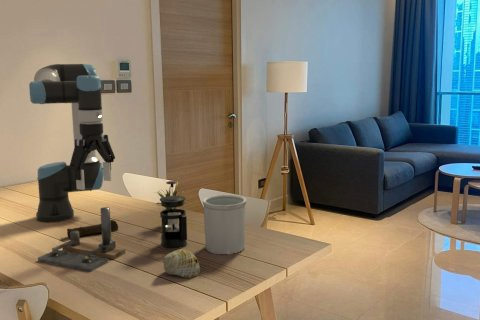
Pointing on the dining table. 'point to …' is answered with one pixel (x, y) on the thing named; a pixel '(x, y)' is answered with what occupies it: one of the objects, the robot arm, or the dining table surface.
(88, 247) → the grey lever handle base
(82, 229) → the hand tool
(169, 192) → the house plant
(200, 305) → the dining table surface
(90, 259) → the bolt plate
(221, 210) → the utensil holder
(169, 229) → the french press
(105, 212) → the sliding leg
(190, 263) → the seashell
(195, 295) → the dining table surface
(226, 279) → the dining table surface
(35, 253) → the dining table surface
